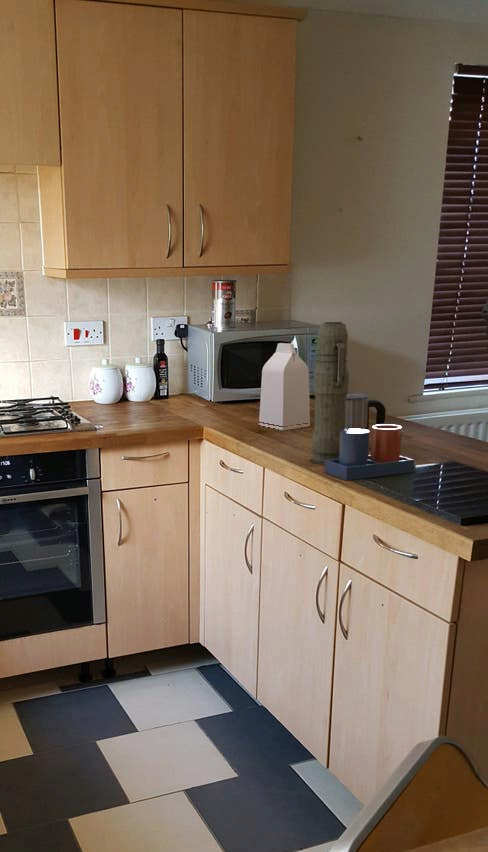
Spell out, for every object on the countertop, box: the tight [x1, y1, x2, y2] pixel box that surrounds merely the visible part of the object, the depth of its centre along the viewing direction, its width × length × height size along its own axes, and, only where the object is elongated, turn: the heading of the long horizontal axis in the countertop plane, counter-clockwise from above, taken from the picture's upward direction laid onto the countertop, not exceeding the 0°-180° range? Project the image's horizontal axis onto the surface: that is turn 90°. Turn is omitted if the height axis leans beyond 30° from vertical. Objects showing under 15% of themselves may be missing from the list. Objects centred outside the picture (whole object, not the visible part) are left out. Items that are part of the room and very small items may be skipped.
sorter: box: [324, 454, 415, 481], centre depth 215 cm, size 10×19×3 cm, turn 111°
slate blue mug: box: [339, 429, 370, 467], centre depth 212 cm, size 7×7×10 cm
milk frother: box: [345, 393, 387, 431], centre depth 245 cm, size 14×16×15 cm
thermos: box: [311, 321, 350, 465], centre depth 224 cm, size 9×12×35 cm
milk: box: [258, 342, 311, 431], centre depth 280 cm, size 12×12×26 cm
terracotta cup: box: [370, 424, 403, 463], centre depth 215 cm, size 7×7×10 cm
